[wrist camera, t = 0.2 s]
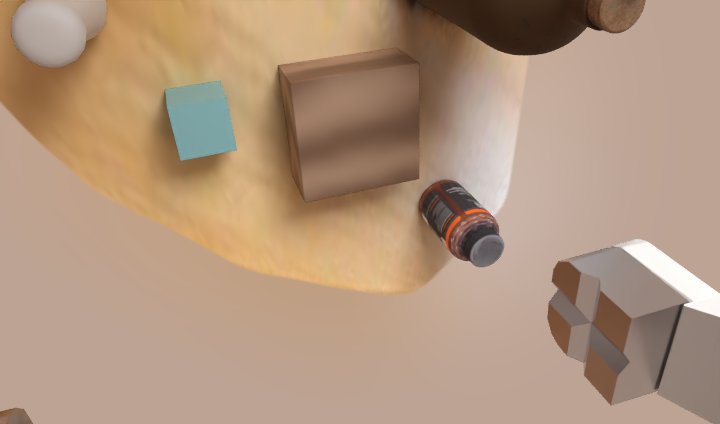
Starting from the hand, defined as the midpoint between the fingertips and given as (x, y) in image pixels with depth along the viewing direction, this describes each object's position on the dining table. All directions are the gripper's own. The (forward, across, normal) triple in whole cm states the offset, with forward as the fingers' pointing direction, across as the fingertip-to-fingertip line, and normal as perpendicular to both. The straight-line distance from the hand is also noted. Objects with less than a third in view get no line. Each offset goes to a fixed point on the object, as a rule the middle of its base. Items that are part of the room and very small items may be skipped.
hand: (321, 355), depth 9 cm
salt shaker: (+48, +9, +2) cm, 48 cm away
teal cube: (+48, +1, +13) cm, 49 cm away
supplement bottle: (+48, -24, +29) cm, 61 cm away
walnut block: (+48, -13, +16) cm, 52 cm away
